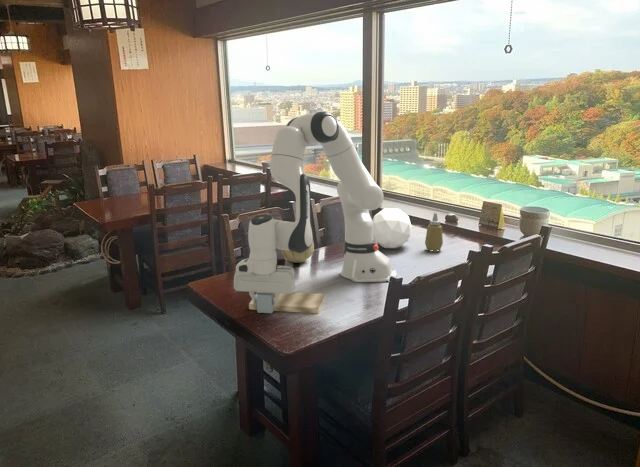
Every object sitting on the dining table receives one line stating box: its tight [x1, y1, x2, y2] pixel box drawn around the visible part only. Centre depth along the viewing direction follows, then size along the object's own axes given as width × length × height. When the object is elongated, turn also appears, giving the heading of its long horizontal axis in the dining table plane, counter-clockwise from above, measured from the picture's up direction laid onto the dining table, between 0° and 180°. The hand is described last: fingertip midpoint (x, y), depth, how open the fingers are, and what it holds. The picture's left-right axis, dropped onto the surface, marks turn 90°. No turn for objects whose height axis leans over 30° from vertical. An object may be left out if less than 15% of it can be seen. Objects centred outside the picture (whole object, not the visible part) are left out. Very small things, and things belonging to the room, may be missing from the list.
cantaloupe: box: [280, 241, 315, 264], centre depth 210 cm, size 15×15×15 cm
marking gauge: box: [256, 292, 275, 314], centre depth 166 cm, size 5×14×6 cm, turn 171°
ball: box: [372, 207, 413, 249], centre depth 228 cm, size 19×20×20 cm
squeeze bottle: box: [424, 212, 444, 251], centre depth 222 cm, size 8×8×18 cm
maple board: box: [248, 291, 325, 314], centre depth 168 cm, size 24×12×2 cm, turn 81°
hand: (265, 303), depth 161 cm, fingers closed on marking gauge, 5 cm apart
